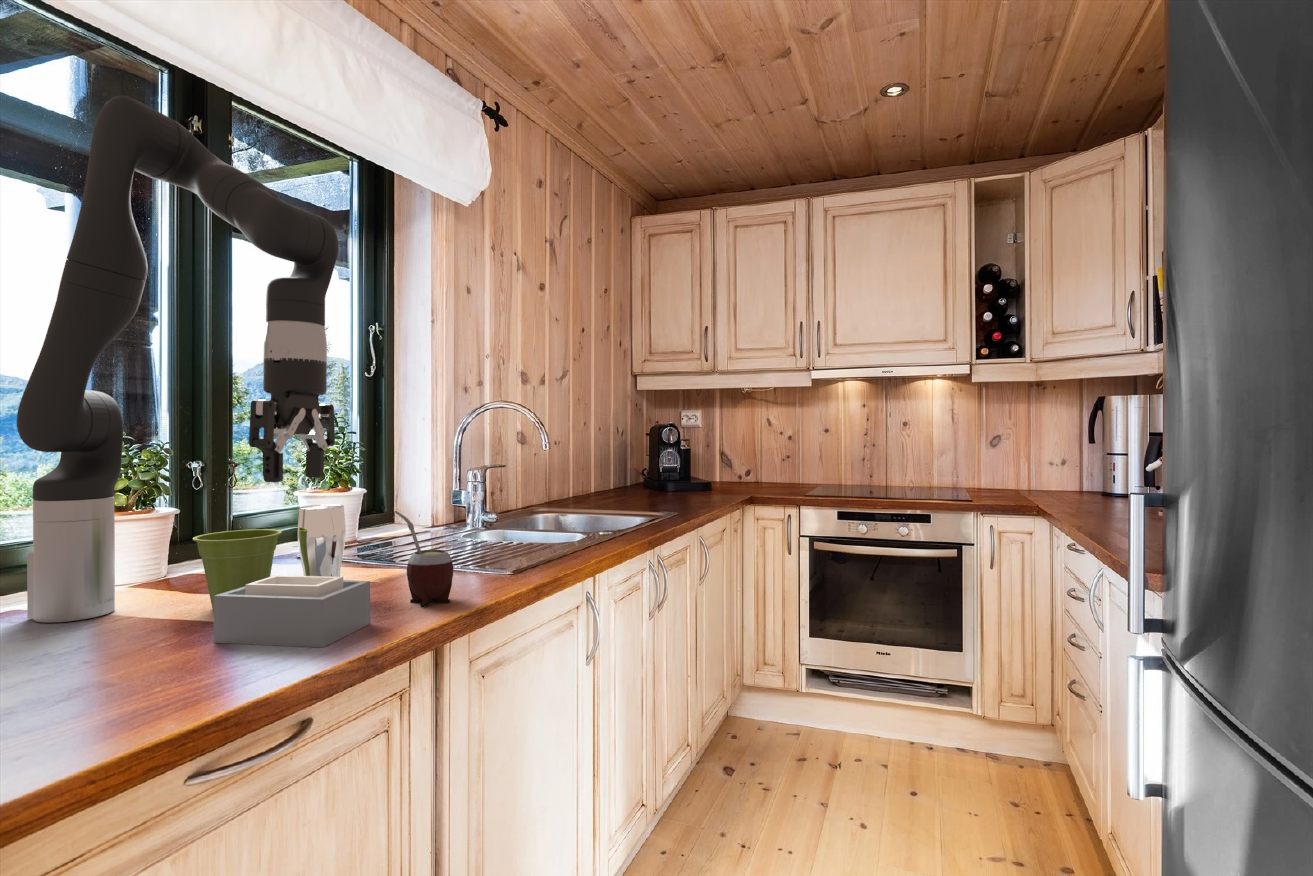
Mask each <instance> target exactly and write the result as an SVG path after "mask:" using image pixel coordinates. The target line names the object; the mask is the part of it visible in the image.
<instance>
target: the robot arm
mask: <svg viewBox="0 0 1313 876" xmlns="http://www.w3.org/2000/svg"><path fill="white" fill-rule="evenodd" d="M94 123H95V124H94V128H93V132H92V136H91V141H90V148H89V156H88V162H87V170H86V177H85V184H84V188H83V195H82V200H81V205H80V209H79V213H78V217H77V222H76V224H75V225H76V226H75V230H74V233H73V237H72V240H71V242H70V246H69V249H68V253H67V255H66V259H65V262H64V267H63V270H62V273H61V274H62V275H61V279H60V281H59V287H58V292H57V295H56V300H55V304H54V307H53V310H52V311H53V312H52V315H51V318H50V321H49V323H48V324H49V325H48V327H47V331H46V335H45V338H44V340H43V343H42V346H41V349H40V352H39V354H38V356H37V359H36V362H35V365H34V367H33V369H32V371H31V373H30V376H29V379H28V381H27V384H26V386H25V388H24V390H23V393H22V395H21V399H20V402H19V404H18V409H17V413H16V428H17V429H16V430H17V432H18V435H19V437H20V439H21V440H22V442H23V444H24V445H26V446H27V447H28V448H30V449H31V450H34V451H36V452H43V453H60V458H59V459H60V460H59V462H58V464H57V465H56V466H55V468H53V470H51V471H50V472H48V473H47V474H45V475H43V476H41V477H39V478H37V479H36V480H35V481H34V483H33V486H32V545H33V546H32V548H33V549H32V550H33V551H30V552H28V553H27V556H26V562H27V563H26V565H27V566H26V567H27V568H26V569H27V570H26V571H27V572H26V574H27V576H26V577H27V578H26V579H27V581H26V582H27V583H26V585H27V586H26V588H27V590H26V591H27V594H26V595H27V602H26V603H27V605H26V607H27V612H26V613H27V619H30V620H31V619H32V620H33V621H34V622H37V623H63V622H65V623H66V622H72V621H73V622H75V621H80V620H86V619H91V618H97V617H101V616H104V615H107V614H110V613H113V612H114V611H115V609H116V606H115V605H116V604H115V603H116V602H115V600H116V597H115V593H116V589H115V588H116V587H115V586H116V585H115V583H116V580H115V579H116V575H115V573H116V569H115V568H116V567H115V565H116V562H115V561H116V559H115V558H116V557H115V555H116V554H115V551H116V549H115V547H116V546H115V545H116V544H115V540H116V539H115V537H116V536H115V535H116V534H115V528H116V527H115V525H116V524H115V487H116V485H117V482H118V480H119V478H120V476H121V472H122V459H123V441H124V440H123V439H124V420H123V415H122V411H121V408H120V406H119V404H118V403H117V401H116V400H115V399H114V398H113V397H112V396H111V395H110V394H107V393H105V392H103V391H99V390H90V389H87V386H88V382H89V378H90V375H91V373H92V370H93V367H94V365H95V364H96V361H97V359H99V357H100V355H101V354H102V353H103V352H104V350H105V349H106V348H107V347H108V345H110V344H111V343H112V342H113V341H114V340H115V339H116V338H117V337H118V336H119V334H121V332H123V331H124V329H125V328H126V327H127V326H128V325H129V324H130V322H131V321H132V319H134V317H135V316H136V314H137V311H138V309H139V306H140V304H141V301H142V297H143V292H144V289H145V285H146V281H147V279H148V278H147V277H148V274H149V272H148V271H149V268H148V261H147V260H148V259H147V254H146V252H145V249H144V246H143V243H142V239H141V237H140V236H141V235H140V233H139V230H138V228H137V226H136V222H135V218H134V216H133V211H132V205H131V204H132V203H131V193H132V187H133V186H132V184H133V178H134V174H135V172H137V173H140V174H141V175H144V176H145V177H148V178H150V179H153V180H158V181H161V182H165V183H168V184H171V185H173V186H176V187H179V188H183V189H185V190H188V191H190V192H191V193H194V194H195V195H197V197H198V198H199V199H200V201H201V202H202V203H203V205H204V206H205V207H206V208H208V209H209V210H210V211H211V212H212V213H214V215H216V216H218V217H219V218H221V219H222V220H223V221H225V222H226V223H228V224H229V225H231V226H233V227H234V228H235V229H238V230H239V231H240V232H241V234H243V236H244V237H245V238H246V239H247V240H248V241H249V242H250V244H252V245H253V246H254V247H255V248H257V249H259V250H261V251H262V252H264V253H266V254H268V255H270V256H273V257H275V258H278V259H281V260H285V261H289V262H293V268H292V271H291V275H290V277H288V276H287V277H277V278H274V279H272V280H270V281H269V282H268V284H267V288H266V294H265V295H266V296H265V297H266V299H265V300H266V301H265V313H266V314H265V330H264V335H263V363H262V364H263V367H262V368H263V380H262V381H263V382H262V383H263V384H262V385H263V387H262V388H263V389H262V390H263V392H264V393H266V394H270V399H252V400H251V402H250V410H249V411H250V413H249V414H250V415H249V431H248V432H249V433H248V434H249V435H248V445H249V447H250V448H256V449H257V450H259V452H260V453H262V476H263V481H264V482H265V483H282V481H283V480H284V452H282V451H283V450H284V447H285V445H286V444H287V441H289V440H290V439H292V438H293V436H294V435H296V437H298V439H300V440H302V442H303V444H304V446H305V448H306V451H305V475H306V477H307V478H309V479H320V478H323V476H324V471H325V466H324V465H325V452H326V451H327V450H328V447H332V446H333V447H334V445H335V443H336V434H335V431H336V430H335V428H336V427H335V406H334V404H332V403H320V402H319V401H320V400H319V396H323V395H325V394H326V393H327V391H328V390H327V385H328V384H327V383H328V382H327V380H328V379H327V375H328V373H327V371H328V370H327V366H328V363H327V361H328V359H327V358H328V355H327V354H328V344H327V343H328V342H327V336H326V326H325V325H326V296H327V292H328V289H329V286H330V283H331V279H332V275H333V273H334V270H335V266H336V263H337V259H338V255H339V240H338V235H337V232H336V230H335V228H334V226H333V224H331V222H330V221H329V220H327V219H326V218H324V217H322V216H320V215H317V214H315V213H312V212H309V211H307V210H304V209H302V208H300V207H297V206H294V205H291V204H290V203H287V202H286V201H283V200H281V198H280V197H279V195H278V194H276V192H274V191H273V189H271V188H270V187H268V186H267V185H265V184H264V183H262V182H260V181H259V180H256V179H255V178H254V177H252V176H250V175H248V174H247V173H245V172H244V171H241V170H240V169H238V168H236V167H234V166H232V165H230V164H228V163H226V162H224V161H223V160H221V159H220V158H219V157H217V156H216V155H215V154H214V153H212V152H211V151H210V150H209V149H208V148H207V147H206V146H205V145H204V144H203V143H202V142H200V140H199V139H198V138H197V137H195V136H194V134H193V133H191V132H190V131H189V130H188V129H187V128H186V127H184V126H183V125H182V124H181V123H179V121H177V120H175V119H173V118H171V117H169V116H167V115H165V114H164V113H162V112H160V111H157V110H156V109H155V108H152V107H150V106H149V105H146V104H145V103H142V102H141V101H138V100H137V99H134V98H132V97H130V96H127V95H116V96H114V97H111V98H110V99H109V100H107V101H106V102H105V103H104V105H103V106H102V107H101V109H100V111H99V113H98V115H97V118H96V120H95V122H94ZM260 429H263V431H262V432H263V437H260ZM324 429H325V430H326V431H325V430H324ZM325 432H326V436H324V434H325ZM274 440H275V441H274Z"/></svg>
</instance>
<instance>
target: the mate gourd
mask: <svg viewBox="0 0 1313 876" xmlns="http://www.w3.org/2000/svg"><path fill="white" fill-rule="evenodd" d="M394 513H395V514H397V515H398V516H399V517H400V518H401V519H402V520H404V522H406V523H407V527H408V529H409V531H410V534H411V537H412V540H413V543H414V545H415V549H416V551H414V552H413V553H412V554H411V556H409V558H408V560H407V565H406V576H407V577H406V578H407V583H408V588H409V593H410V595H411V598H410V600H409V601H410V604H420V608H427V607H428V606H430V605H432V604H450V603H451V599H450V598H449V597H450V593H451V589H452V586H453V577H454V563H453V558H452V557H451V556H450V554H449V552H448V550H445V549H423V550H421V547H420V544H419V541H418V538H417V535H416V531H415V526H414V524H413V522H411V520H410V519H409V518H408V517H407V516H405V515H403V514H402V513H400V512H399V511H397V510H395V511H394Z"/></svg>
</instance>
